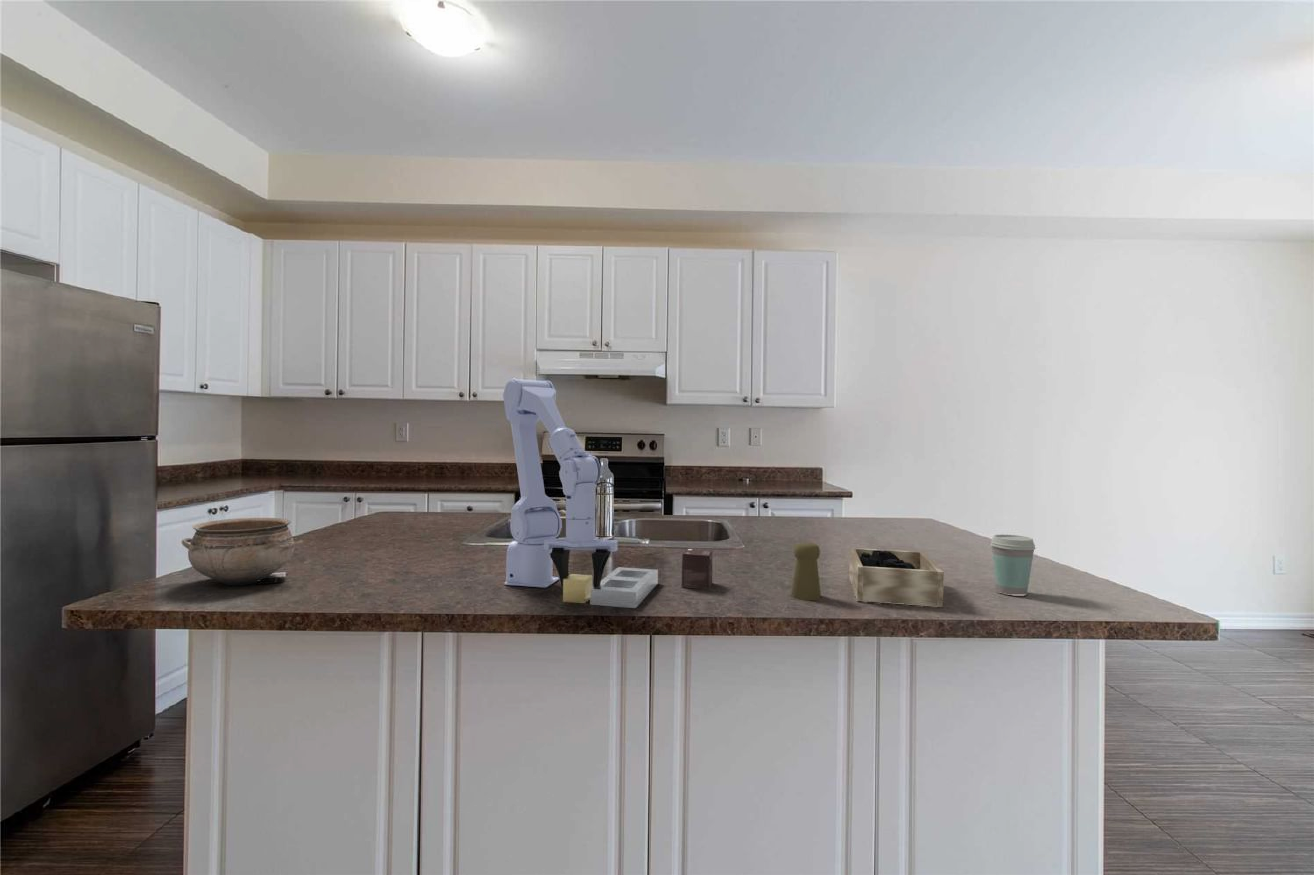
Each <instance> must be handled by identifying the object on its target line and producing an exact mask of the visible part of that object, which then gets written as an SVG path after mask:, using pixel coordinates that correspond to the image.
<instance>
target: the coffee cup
mask: <svg viewBox="0 0 1314 875" xmlns="http://www.w3.org/2000/svg"><path fill="white" fill-rule="evenodd" d="M990 546H991V549H992V551H991V552H992V561H993V562H992V564H993V573H994V584H995V591H996V590H997V591H999V592H1002V593H1006V594H1026V593H1027V594H1028V591H1029V583H1030V576H1031V571H1032V564H1033V558H1034V552H1035V550H1036V549H1037V548H1036V544H1035V543H1034V538H1032V537H1029V536H1024V535H1023V536H1022V535H1016V534H994V535H993V537H992V539H991V541H990Z"/></svg>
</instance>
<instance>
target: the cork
mask: <svg viewBox="0 0 1314 875" xmlns="http://www.w3.org/2000/svg"><path fill="white" fill-rule="evenodd" d="M793 553H794V557H795V558H796V561H795V567H794V573H793V580H792V584H791V586H792V587H791V590H790V592H791V593H790V597H792V598H793V599H797V600H802V601H817V600H821V599H822V594H821V586H820V577H819V567H818V559H819V558H820V555H821V549H820V547H819V545H817V544H816V543H813V542H807V541H805V542H798V543H796V544H795V546H794V548H793Z"/></svg>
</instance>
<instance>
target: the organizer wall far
mask: <svg viewBox="0 0 1314 875" xmlns="http://www.w3.org/2000/svg"><path fill="white" fill-rule="evenodd" d="M854 548H855V550H856V552H857V555H858V557H860V556H861V554H862V553H863V552H865V553H869V554H870V555H872V552H873V551H878V550H880V551H882V552H883V551H888V552H891V553H892V554H894V555H895V556H896V557H898V558H899V559H900V560H903V562H908V563H911V564H912V565H913V566H914V567H915V569H917V570H919V564H920V552H921V551H915V550H914V551H913V550H896V549H895V550H893V549H878V548H877V549H875V548H860V547H859V548H857V547H854Z"/></svg>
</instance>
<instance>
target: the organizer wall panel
mask: <svg viewBox="0 0 1314 875" xmlns="http://www.w3.org/2000/svg"><path fill="white" fill-rule="evenodd" d="M855 548H856V547H849V572H848V574H849V576H848V578H849V581H851V582H850V584H852V585H851V587H853V588H852V590H854V591H853V593H855V594H854V596H856V597H855V599H857V600H856V602H857V601H862V600H863V565H862V563H861V561H860V559H859V557H858V555H857V552H856V550H855Z"/></svg>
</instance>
